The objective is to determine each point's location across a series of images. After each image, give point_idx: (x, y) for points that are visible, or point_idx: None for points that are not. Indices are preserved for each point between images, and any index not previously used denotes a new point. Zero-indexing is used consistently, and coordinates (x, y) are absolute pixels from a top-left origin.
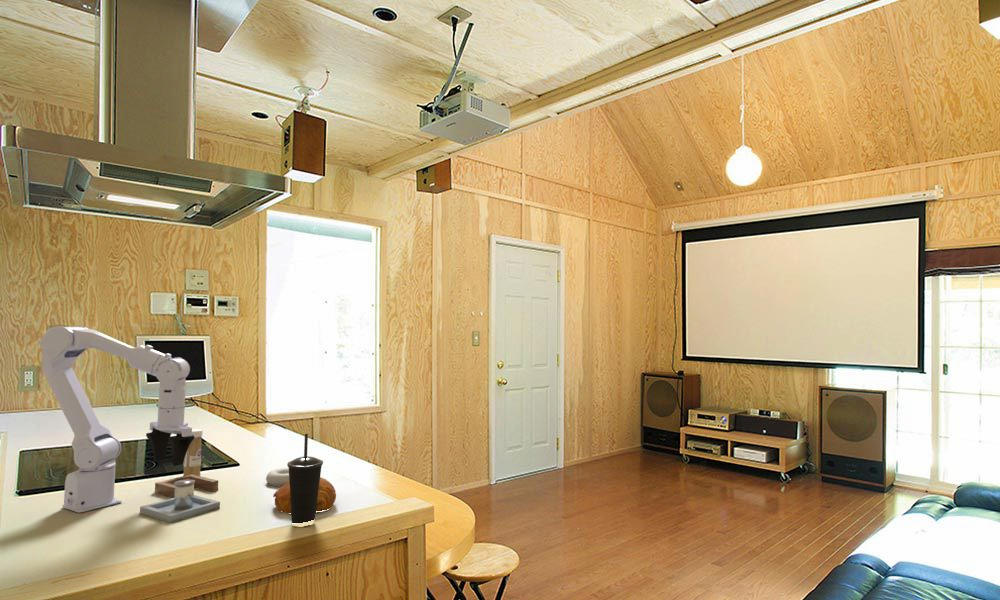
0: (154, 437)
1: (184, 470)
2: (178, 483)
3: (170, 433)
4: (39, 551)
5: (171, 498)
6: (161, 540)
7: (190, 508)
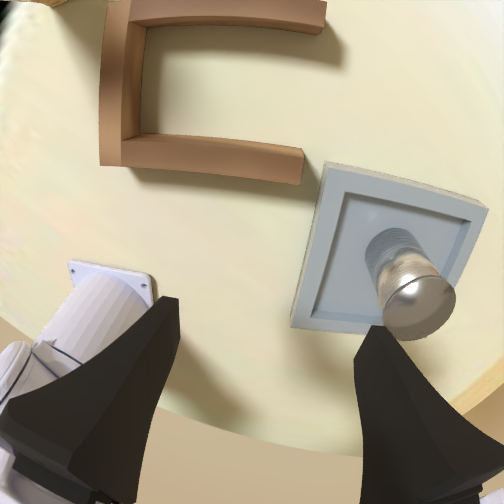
0: (134, 480)
1: (38, 1)
2: (410, 333)
3: (88, 445)
4: (301, 435)
5: (312, 239)
6: (449, 371)
7: None
